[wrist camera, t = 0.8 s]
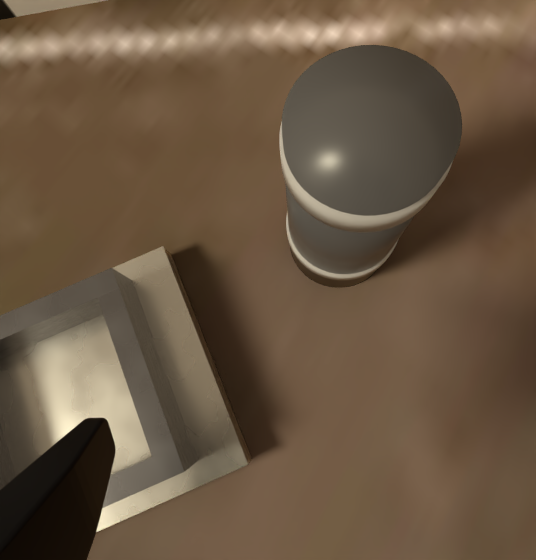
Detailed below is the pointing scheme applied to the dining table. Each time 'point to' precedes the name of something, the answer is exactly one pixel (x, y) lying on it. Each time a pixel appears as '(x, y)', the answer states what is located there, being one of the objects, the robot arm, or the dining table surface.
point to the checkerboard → (36, 6)
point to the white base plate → (119, 384)
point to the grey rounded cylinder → (362, 157)
